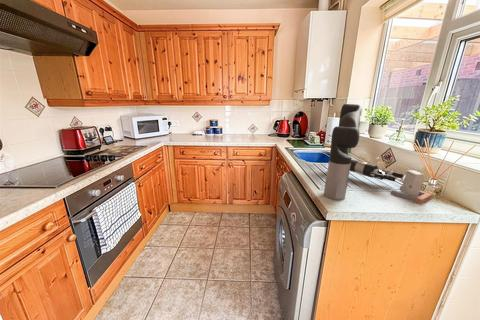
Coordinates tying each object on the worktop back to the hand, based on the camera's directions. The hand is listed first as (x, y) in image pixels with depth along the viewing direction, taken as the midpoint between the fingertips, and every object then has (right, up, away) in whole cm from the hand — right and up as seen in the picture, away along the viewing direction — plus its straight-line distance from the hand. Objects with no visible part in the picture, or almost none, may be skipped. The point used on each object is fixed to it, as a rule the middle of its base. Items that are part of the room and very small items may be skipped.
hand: (399, 178), depth 100 cm
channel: (+3, -8, -3) cm, 9 cm away
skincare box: (+3, -9, -3) cm, 9 cm away
